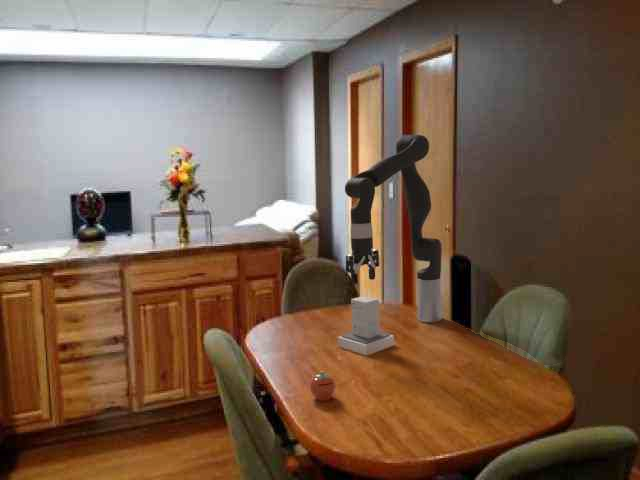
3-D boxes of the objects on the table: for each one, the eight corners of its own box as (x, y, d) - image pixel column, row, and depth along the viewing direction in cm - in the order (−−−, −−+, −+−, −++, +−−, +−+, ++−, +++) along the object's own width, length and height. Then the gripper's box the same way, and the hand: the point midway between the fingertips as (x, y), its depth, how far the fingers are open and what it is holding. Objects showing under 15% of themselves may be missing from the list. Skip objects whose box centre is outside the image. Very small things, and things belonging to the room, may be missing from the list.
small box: (380, 335, 203) (379, 299, 201) (367, 339, 199) (366, 302, 197) (364, 330, 209) (363, 295, 207) (351, 334, 205) (350, 298, 203)
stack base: (365, 337, 214) (365, 326, 213) (393, 345, 204) (393, 334, 203) (338, 346, 205) (337, 335, 204) (366, 355, 195) (366, 344, 194)
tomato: (314, 405, 157) (312, 377, 156) (307, 395, 164) (305, 368, 163) (339, 401, 159) (338, 373, 158) (331, 391, 166) (330, 364, 165)
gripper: (368, 232, 206) (369, 276, 208) (339, 237, 197) (341, 284, 199) (383, 233, 200) (385, 279, 203) (354, 239, 191) (356, 287, 194)
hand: (363, 281), depth 201 cm, fingers open, 8 cm apart
